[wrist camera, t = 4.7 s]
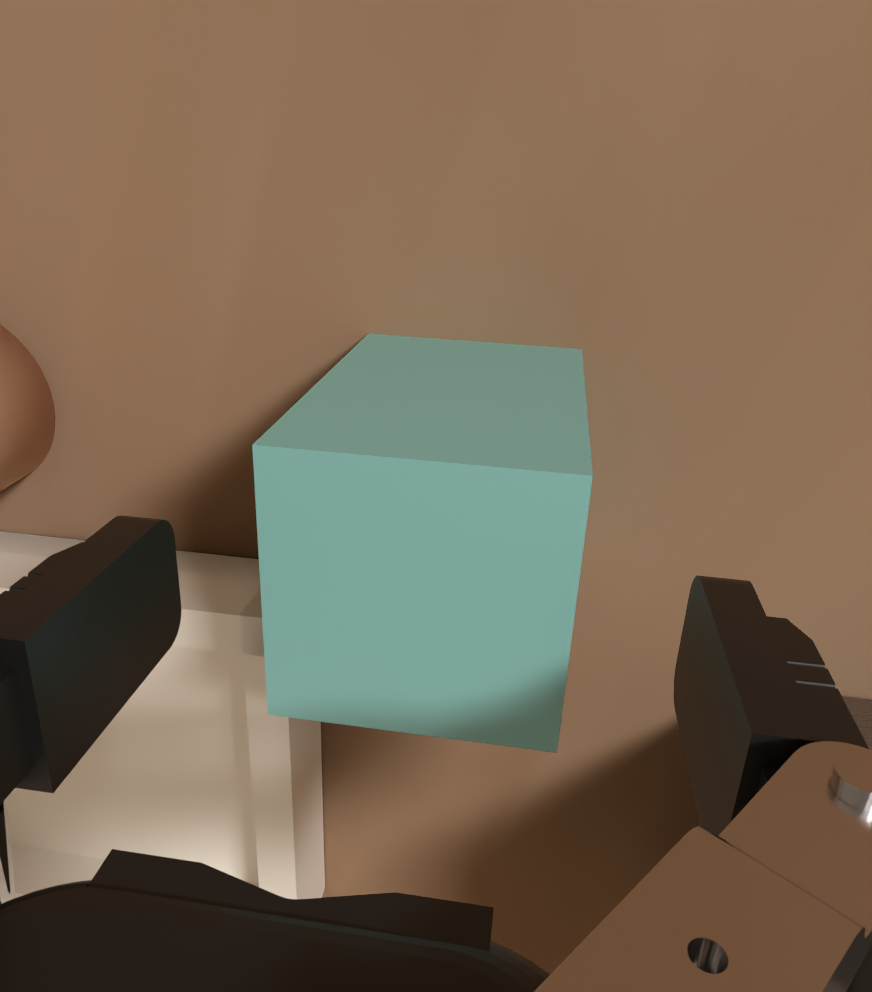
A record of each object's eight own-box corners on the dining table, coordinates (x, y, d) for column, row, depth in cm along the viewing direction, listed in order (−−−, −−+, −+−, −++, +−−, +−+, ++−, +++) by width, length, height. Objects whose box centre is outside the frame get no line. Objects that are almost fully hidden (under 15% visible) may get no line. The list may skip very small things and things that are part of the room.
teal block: (368, 333, 17) (252, 444, 11) (581, 348, 16) (593, 475, 10) (367, 523, 19) (267, 714, 12) (559, 542, 18) (556, 752, 12)
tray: (-95, 521, 21) (-175, 567, 18) (316, 565, 19) (284, 620, 17) (-14, 834, 25) (-71, 902, 23) (324, 887, 24) (299, 964, 22)
